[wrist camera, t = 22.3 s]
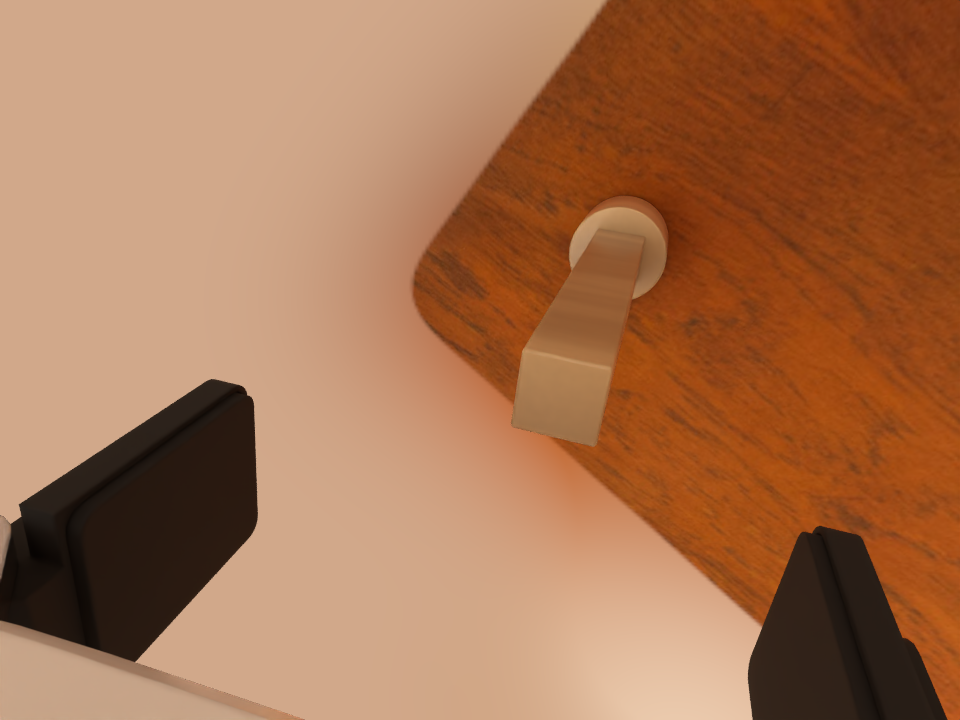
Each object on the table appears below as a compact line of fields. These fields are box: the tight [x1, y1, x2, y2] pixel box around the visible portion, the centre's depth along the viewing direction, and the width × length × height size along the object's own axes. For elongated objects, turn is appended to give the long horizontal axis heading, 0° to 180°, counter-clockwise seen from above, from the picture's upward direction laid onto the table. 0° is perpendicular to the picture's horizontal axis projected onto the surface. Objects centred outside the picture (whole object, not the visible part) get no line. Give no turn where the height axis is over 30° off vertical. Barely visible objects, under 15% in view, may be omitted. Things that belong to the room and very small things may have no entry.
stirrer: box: [511, 196, 668, 446], centre depth 20 cm, size 4×4×16 cm
